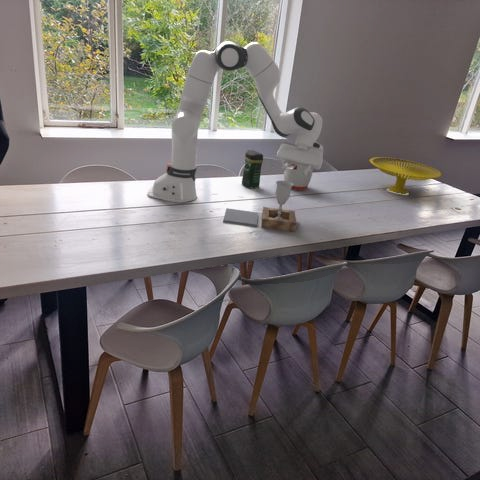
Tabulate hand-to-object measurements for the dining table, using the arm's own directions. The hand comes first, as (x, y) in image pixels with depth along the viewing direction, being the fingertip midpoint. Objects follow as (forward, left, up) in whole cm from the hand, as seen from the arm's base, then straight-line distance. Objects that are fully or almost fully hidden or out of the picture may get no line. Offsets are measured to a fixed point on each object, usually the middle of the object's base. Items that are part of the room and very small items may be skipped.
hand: (293, 172), depth 186 cm
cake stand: (+68, +64, -20) cm, 95 cm away
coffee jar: (-18, +36, -20) cm, 45 cm away
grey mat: (-20, -11, -20) cm, 31 cm away
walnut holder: (-4, -11, -20) cm, 23 cm away
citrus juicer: (+6, +44, -20) cm, 49 cm away
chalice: (-4, -11, -20) cm, 24 cm away
